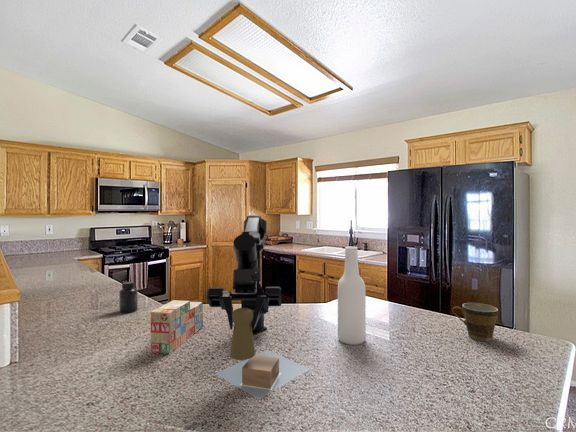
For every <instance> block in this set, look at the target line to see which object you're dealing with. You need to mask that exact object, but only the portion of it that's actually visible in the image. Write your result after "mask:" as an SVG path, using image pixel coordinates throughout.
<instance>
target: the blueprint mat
mask: <svg viewBox="0 0 576 432" xmlns="http://www.w3.org/2000/svg"><path fill="white" fill-rule="evenodd" d="M256 355H260V356H268V357H276V358H279V375H278V376H277V378H276V380H275V382H274V383H273V385H272V387H271V388H270V389H268V388H261V387H255V386H248V385H242V367H243V366H244V365H245V364H246V362H247V361H248V360H249V359H246V360H240V361H239V362H237V363H235V364H233V365H230V366H229V367H226V368H224V369H222V370H219V371H217V372H215V373H214V374H215V375H217V376H218V377H220V378H222V379H223V380H225V381H227V382H229V384H232V385H233V386H235V387H236V388H238V389H240V390H242V391H243V392H245V393H247V394H249V395H250V396H252V397H254V398H256V400H257V399H258V400H260V399H262V398H264V397H265V396H267V395H269V394H270V393H272V392H274V391H275V390H277V389H279V388H280V387H282V386H283V385H285V384H287V383H288V382H291V381H292V380H293V379H295V378H297V377H298V376H300V375H301V374H303V373H305V372H306V371H308V370H310V368H309V367H308V366H305V365H303V364H300V363H299V362H298V363H297V362H295V361H293V360H291V359H289V358H286V357H285V356H281V355H279V354H277V353H275V352H274V353H273V352H272V351H269V350H267V349H266V350H263V351H261V352H259V353H257V354H256Z"/></svg>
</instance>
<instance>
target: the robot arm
mask: <svg viewBox="0 0 576 432" xmlns="http://www.w3.org/2000/svg"><path fill="white" fill-rule="evenodd" d="M267 223H268V222H267V220H265V219H263V218H262V215H260V214H257V215H256V214H255V215H253V214H249V215H247V216H246V218H245V220H244V221H243V231H242V232H241V233H240V234H239V235H238V236H236V237H235V238H234V240H233V241H232V243H233V246H232V247H233V251H234V255H235V260H236V261H237V263H236V264H237V265H236V268H235V269H233V271H232V272H233V273H232V289H233V290H234V291H233V292H231V291H230V290H229V291H228V290H225V289H224V287H223V286H221V287H220V286H216V287H214V286H213V287H212V286H211V287H209V288H208V289H207V291H206V295H205V298H206V300H207V303H208V305H209V307H210V308H221V310H222V311H223V310H224V311H225V312H226V315H227V318H228V325H229V330H230V331H232V330H233V329H234V322H233V320H232V313H233V312H234V307H233V305H234V304H233V301H241V302H240V303H241V307H240V308H249V309H251V310H252V311H253V315H254V317H253V321H252V322H251V325H252V333H253V335H255V334H258V333H261V332H263V331H266V330H267V329H268V327H266V326H265V315H266V314H267V313H269V308H270V307H281V306H282V288H281V287H280V286H265V292H264V289H263V287H262V285H261V281H262V266H261V264H262V263H261V262H262V261H261V259H262V257H261V255H262V252H263V250H264V248H265V243H264V241H265V240H266V235H267V234H268V224H267Z"/></svg>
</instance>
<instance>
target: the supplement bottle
mask: <svg viewBox="0 0 576 432" xmlns="http://www.w3.org/2000/svg"><path fill="white" fill-rule="evenodd" d="M135 283H136V282H135V281H125V282H124V281H123V282H122V283H121V289H120V291H119V293H118V296H119V300H118V301H119V305H118V306H119V313H121V314H130V313H135V312H136V311H138V305H139V303H138V301H139V299H138V293H139V292H138V291H139V290H138V289H137V288H136V284H135Z"/></svg>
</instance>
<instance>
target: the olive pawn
mask: <svg viewBox="0 0 576 432" xmlns="http://www.w3.org/2000/svg"><path fill="white" fill-rule="evenodd" d="M253 317H254V315H253V311H252V310H251V309H249V308H241V307H240V308H239V307H237V308H235V309H233V313H232V320H233V328H232V330H233V331H232V338H231V345H230V346H231V347H230V351H229V352H230V354H229V356H230V358H231V359H233V360H237V361H244V360H246V359H250V358H252V357H253V356H254V355H256V352H255V351H256V350H255V344H254V343H255V342H254V334H253V333H252V325H251V322H252V321H253Z"/></svg>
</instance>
